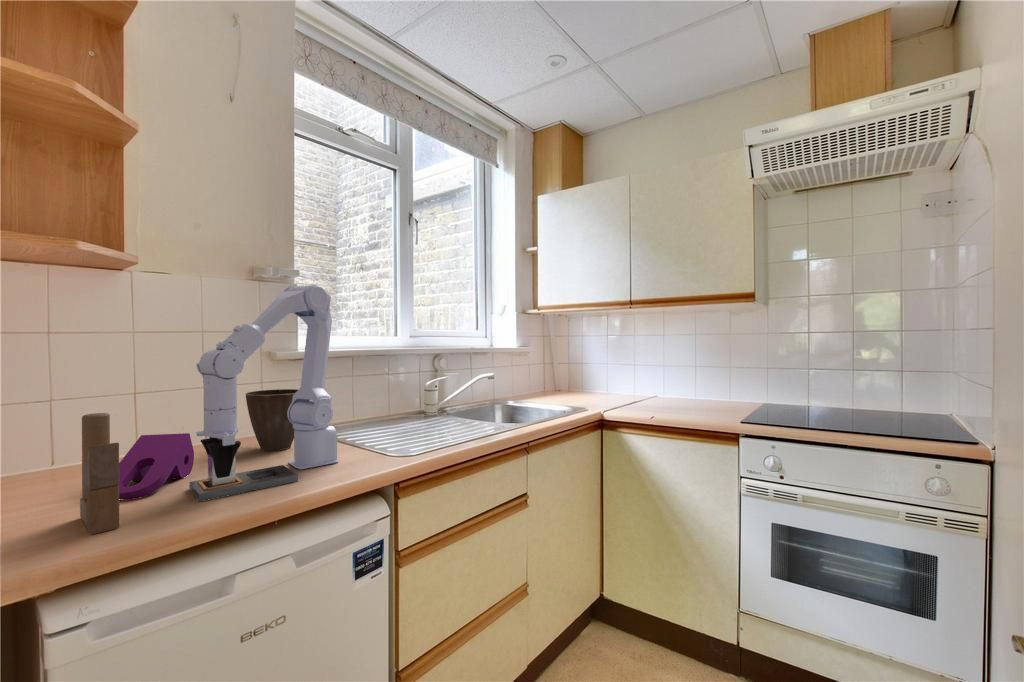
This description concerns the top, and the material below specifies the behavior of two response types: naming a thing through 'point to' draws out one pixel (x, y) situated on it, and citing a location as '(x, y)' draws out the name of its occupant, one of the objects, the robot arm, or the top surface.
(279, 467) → the grey holder tray
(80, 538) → the top surface
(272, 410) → the plant pot
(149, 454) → the mounting bracket
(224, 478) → the metal block with hole
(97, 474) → the wooden block
